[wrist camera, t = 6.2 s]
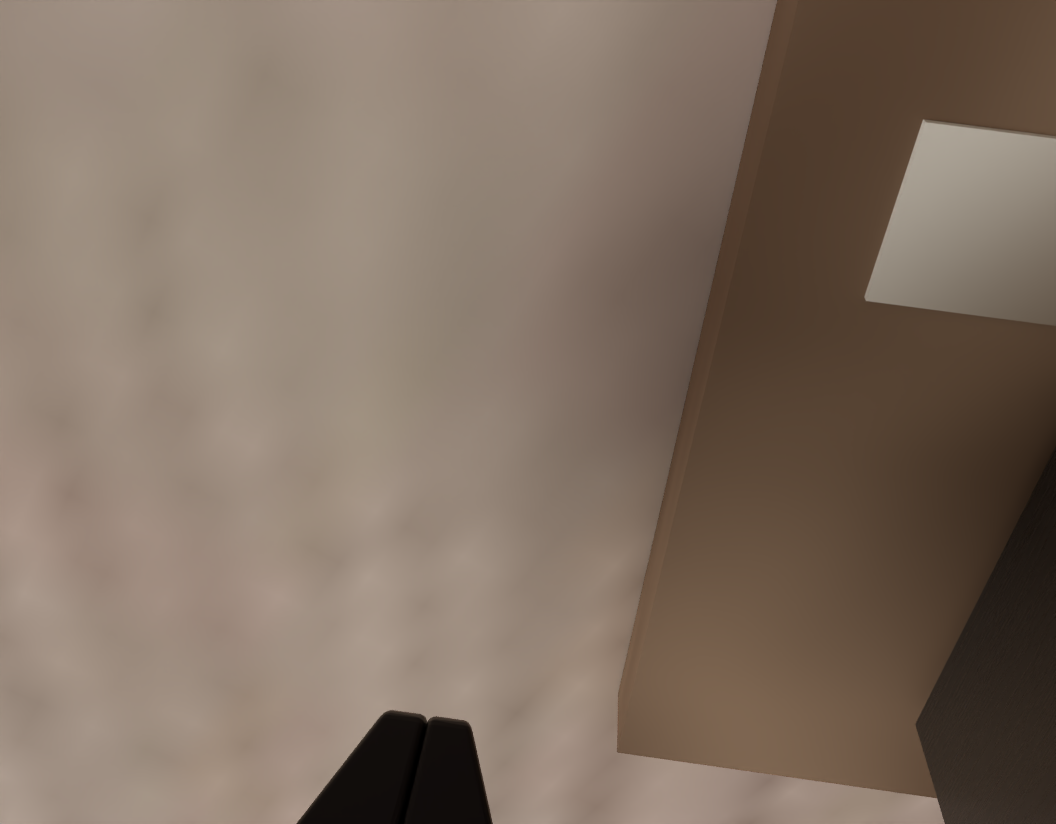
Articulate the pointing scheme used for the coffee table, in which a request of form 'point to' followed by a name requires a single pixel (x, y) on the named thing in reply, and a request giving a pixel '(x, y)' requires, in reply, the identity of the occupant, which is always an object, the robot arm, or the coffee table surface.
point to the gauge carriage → (1002, 686)
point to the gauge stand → (857, 393)
